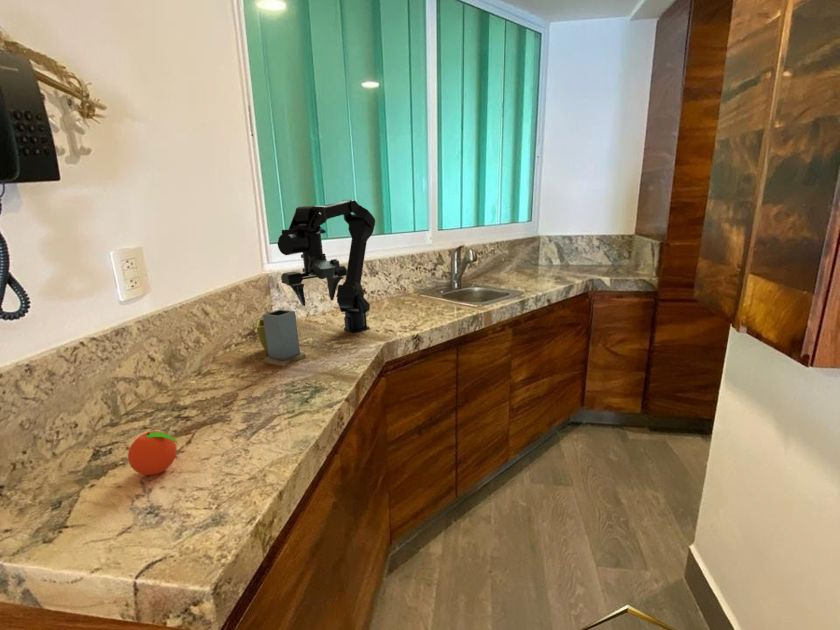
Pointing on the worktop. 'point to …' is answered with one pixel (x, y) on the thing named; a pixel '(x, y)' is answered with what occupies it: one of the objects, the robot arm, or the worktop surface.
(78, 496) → the worktop surface
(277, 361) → the tan piece
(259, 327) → the flower pot
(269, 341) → the open square box
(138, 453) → the clementine
